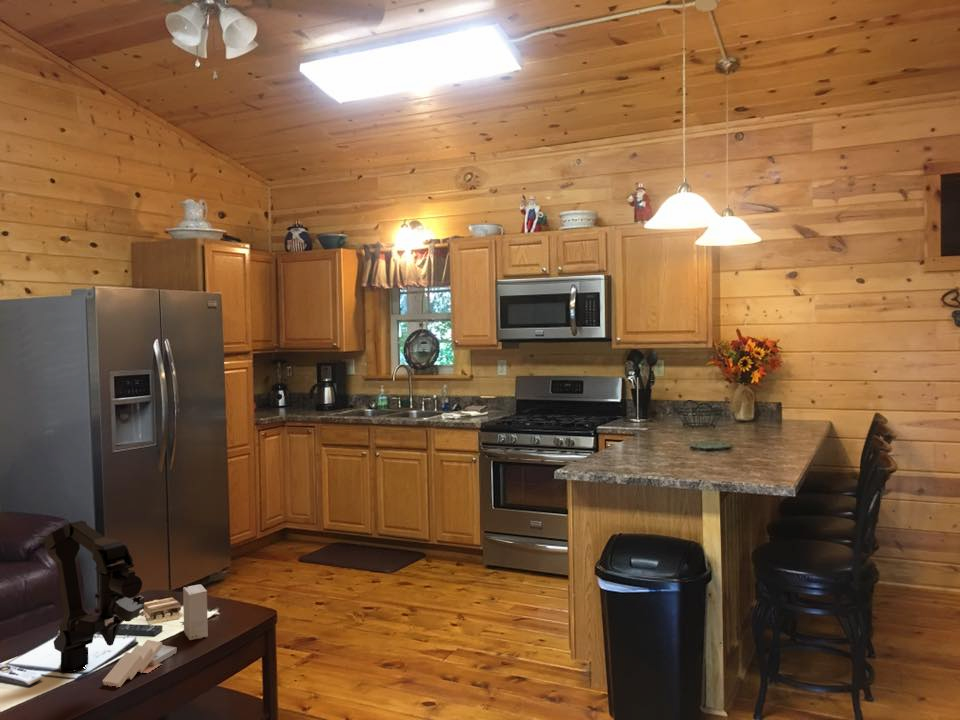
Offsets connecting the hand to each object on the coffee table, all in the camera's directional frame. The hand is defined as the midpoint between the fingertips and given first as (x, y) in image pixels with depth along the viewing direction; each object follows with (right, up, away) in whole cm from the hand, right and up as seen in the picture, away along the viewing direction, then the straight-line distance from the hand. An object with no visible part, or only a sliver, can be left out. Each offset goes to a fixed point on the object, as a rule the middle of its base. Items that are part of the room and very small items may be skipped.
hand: (110, 645), depth 206 cm
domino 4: (+4, -10, +14) cm, 17 cm away
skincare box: (+9, -10, +36) cm, 39 cm away
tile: (+3, -11, +13) cm, 17 cm away
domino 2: (+1, -11, +5) cm, 12 cm away
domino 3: (+2, -10, +9) cm, 14 cm away
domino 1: (0, -11, +1) cm, 11 cm away
